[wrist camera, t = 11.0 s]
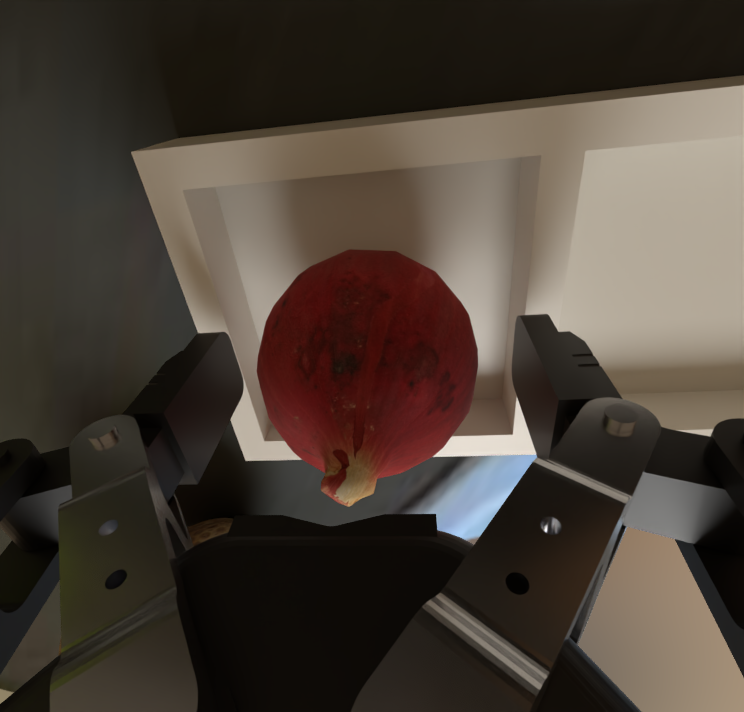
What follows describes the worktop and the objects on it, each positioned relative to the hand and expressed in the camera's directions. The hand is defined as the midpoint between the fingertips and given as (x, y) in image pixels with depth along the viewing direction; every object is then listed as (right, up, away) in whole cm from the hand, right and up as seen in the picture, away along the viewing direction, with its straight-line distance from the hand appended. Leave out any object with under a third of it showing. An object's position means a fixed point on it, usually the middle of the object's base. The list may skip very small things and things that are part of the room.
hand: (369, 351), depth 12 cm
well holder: (+5, +2, +3) cm, 6 cm away
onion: (0, +2, +3) cm, 3 cm away
